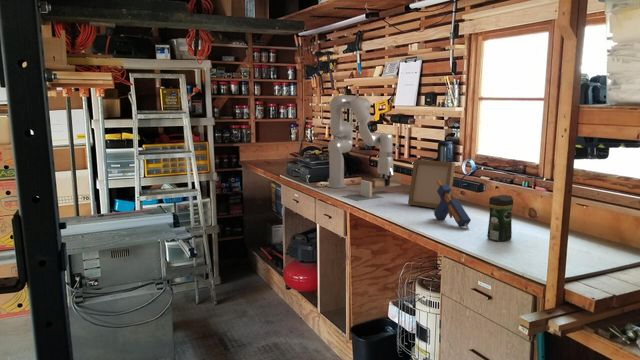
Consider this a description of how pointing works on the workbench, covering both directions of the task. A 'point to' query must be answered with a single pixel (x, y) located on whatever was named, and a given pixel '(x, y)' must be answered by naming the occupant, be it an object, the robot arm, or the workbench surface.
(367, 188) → the tile
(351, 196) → the mat
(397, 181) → the batten
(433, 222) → the workbench surface
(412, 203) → the photo frame
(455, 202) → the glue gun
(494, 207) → the coffee jar
